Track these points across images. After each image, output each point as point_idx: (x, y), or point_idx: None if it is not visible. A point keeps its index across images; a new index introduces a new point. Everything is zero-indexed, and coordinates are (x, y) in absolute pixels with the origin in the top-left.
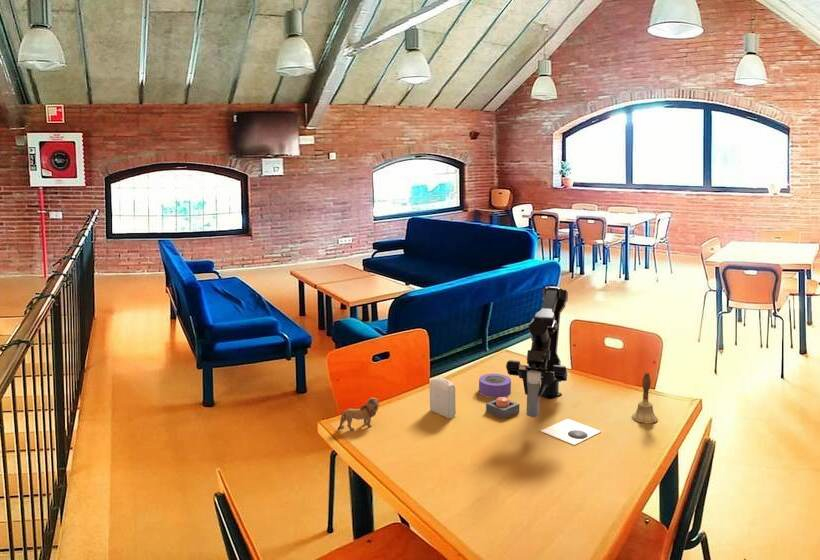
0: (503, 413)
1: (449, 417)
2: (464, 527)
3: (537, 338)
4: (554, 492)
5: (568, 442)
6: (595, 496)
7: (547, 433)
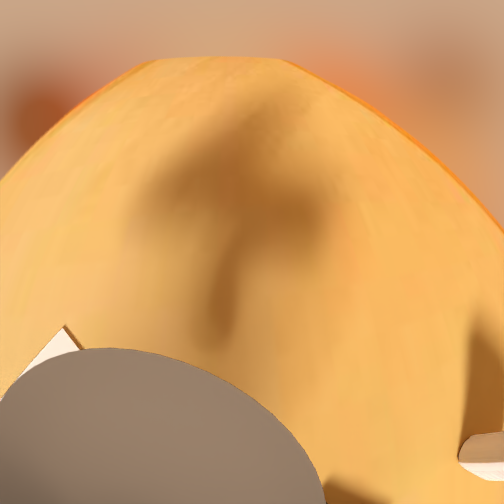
0: None
1: (467, 439)
2: (303, 79)
3: None
4: (172, 123)
5: (75, 345)
6: (104, 124)
7: None
